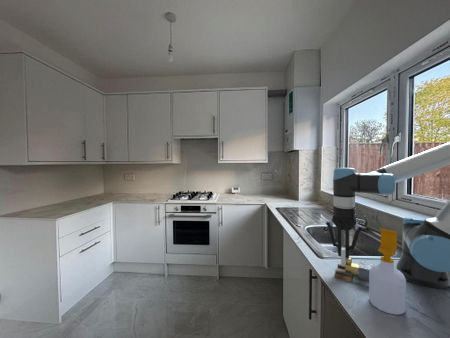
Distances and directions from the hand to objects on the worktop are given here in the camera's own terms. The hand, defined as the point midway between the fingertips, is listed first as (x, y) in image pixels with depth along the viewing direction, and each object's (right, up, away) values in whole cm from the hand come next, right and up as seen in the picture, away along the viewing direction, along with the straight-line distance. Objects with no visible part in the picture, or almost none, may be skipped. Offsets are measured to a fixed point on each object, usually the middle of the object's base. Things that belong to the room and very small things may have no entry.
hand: (343, 264), depth 84 cm
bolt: (+3, -2, -2) cm, 5 cm away
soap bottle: (+3, -5, -18) cm, 19 cm away
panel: (+4, -4, -2) cm, 6 cm away
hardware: (+3, -3, -2) cm, 5 cm away
